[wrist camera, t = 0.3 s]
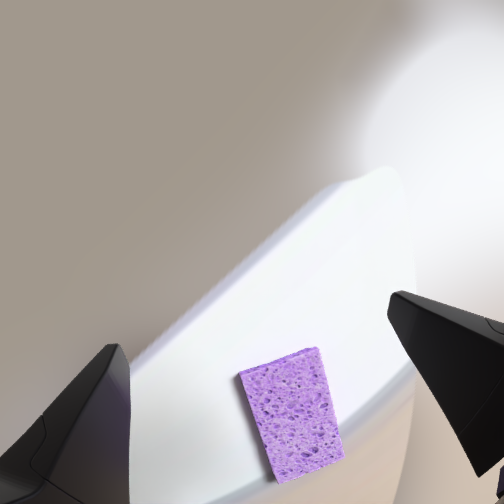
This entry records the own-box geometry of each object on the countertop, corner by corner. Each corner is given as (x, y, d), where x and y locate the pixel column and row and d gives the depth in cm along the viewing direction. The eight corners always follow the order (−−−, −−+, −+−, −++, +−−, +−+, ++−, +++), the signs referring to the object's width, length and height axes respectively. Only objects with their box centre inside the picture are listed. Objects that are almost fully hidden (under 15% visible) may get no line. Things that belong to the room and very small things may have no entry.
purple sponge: (274, 475, 21) (277, 485, 19) (236, 368, 23) (238, 374, 21) (339, 450, 22) (346, 458, 21) (312, 344, 24) (320, 347, 22)
